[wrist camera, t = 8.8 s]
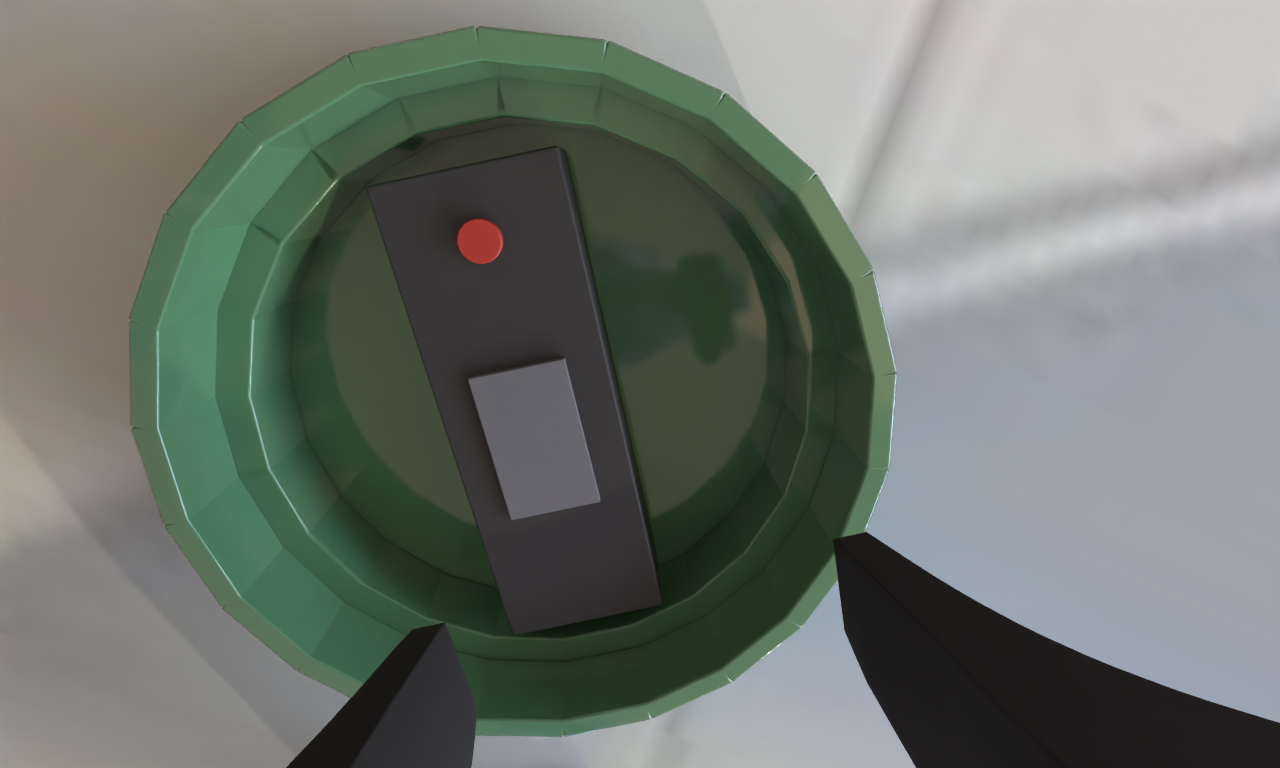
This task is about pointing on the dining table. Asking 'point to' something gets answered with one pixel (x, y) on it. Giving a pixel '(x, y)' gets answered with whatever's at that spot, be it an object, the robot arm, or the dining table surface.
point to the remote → (524, 382)
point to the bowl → (406, 407)
